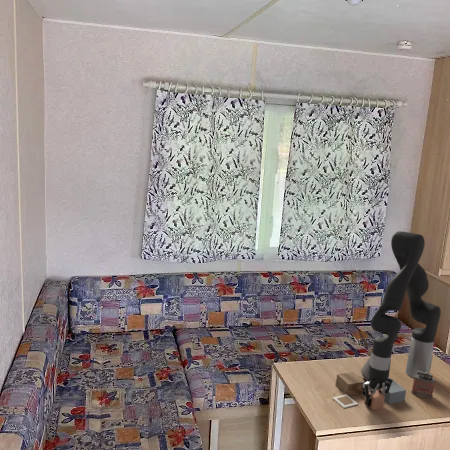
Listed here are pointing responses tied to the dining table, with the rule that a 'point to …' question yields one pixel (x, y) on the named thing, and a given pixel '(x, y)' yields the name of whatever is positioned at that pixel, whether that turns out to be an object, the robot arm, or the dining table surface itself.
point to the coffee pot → (366, 366)
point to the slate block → (395, 393)
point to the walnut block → (349, 383)
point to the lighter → (423, 384)
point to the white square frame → (345, 401)
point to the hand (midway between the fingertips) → (373, 404)
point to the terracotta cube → (377, 400)
